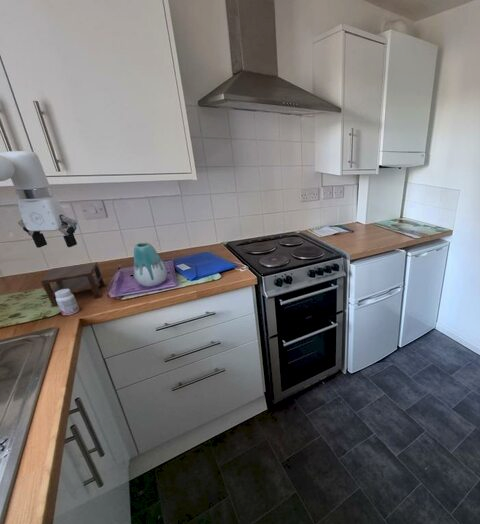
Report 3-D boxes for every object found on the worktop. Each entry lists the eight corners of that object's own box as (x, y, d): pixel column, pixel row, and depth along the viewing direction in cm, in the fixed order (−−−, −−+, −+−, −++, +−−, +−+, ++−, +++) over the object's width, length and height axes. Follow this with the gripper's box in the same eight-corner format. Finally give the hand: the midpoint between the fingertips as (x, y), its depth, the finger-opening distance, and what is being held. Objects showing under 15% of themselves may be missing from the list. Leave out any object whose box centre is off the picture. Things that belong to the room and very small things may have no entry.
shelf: (52, 306, 110) (40, 280, 106) (62, 292, 120) (51, 268, 116) (99, 297, 117) (90, 272, 112) (105, 284, 126) (96, 261, 122)
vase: (173, 283, 128) (162, 243, 121) (141, 292, 120) (128, 251, 113) (164, 274, 135) (154, 237, 128) (134, 283, 128) (122, 243, 121)
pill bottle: (61, 312, 107) (51, 291, 104) (78, 307, 110) (69, 286, 107) (63, 317, 104) (54, 296, 101) (81, 311, 107) (72, 290, 104)
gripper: (-7, 196, 88) (19, 250, 95) (54, 196, 88) (75, 249, 95) (18, 191, 95) (40, 242, 102) (74, 191, 95) (92, 242, 102)
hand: (57, 246), depth 98 cm, fingers open, 9 cm apart
